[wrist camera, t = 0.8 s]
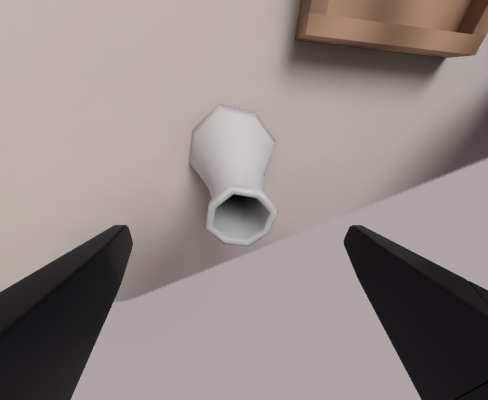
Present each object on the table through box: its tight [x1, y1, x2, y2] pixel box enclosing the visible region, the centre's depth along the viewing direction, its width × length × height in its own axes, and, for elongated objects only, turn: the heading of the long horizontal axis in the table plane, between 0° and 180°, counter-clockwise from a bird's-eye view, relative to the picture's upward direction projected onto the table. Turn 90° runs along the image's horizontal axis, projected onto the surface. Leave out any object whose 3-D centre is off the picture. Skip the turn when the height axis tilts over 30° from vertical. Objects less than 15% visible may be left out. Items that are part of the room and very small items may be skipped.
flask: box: [189, 104, 278, 246], centre depth 13 cm, size 7×7×10 cm
